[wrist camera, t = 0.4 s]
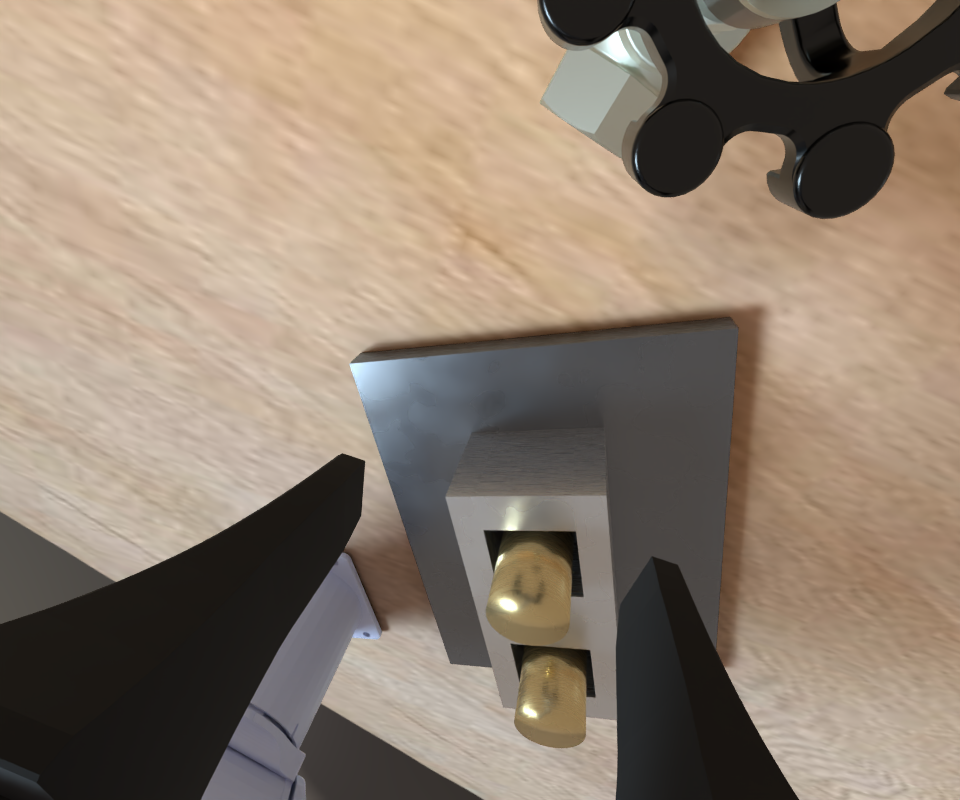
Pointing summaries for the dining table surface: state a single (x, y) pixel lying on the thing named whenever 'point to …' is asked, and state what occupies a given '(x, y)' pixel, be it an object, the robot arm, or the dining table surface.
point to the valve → (742, 90)
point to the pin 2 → (552, 696)
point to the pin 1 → (532, 586)
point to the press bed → (565, 405)
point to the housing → (542, 507)
